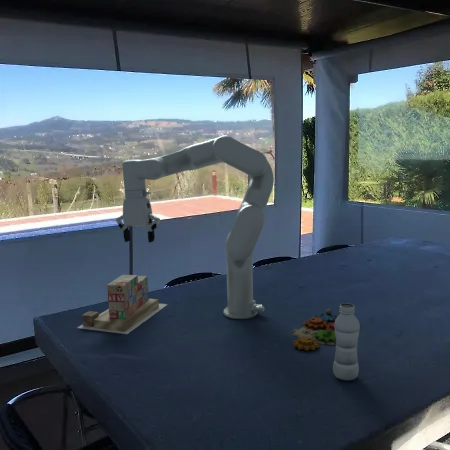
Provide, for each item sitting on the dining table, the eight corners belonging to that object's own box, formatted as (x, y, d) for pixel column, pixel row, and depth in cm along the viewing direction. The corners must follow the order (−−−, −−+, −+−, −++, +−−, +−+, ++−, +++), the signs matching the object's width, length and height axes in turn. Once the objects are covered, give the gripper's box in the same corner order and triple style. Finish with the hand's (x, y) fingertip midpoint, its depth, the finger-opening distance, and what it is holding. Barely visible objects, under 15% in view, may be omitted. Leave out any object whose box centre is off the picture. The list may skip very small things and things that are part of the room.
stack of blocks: (134, 298, 178) (132, 267, 176) (149, 299, 176) (147, 268, 174) (109, 318, 157) (106, 284, 155) (126, 319, 156) (123, 284, 154)
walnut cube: (99, 322, 161) (98, 312, 161) (92, 327, 158) (91, 316, 157) (89, 321, 163) (89, 311, 162) (82, 325, 159) (82, 315, 158)
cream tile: (167, 306, 179) (167, 304, 179) (127, 336, 151) (127, 334, 151) (123, 301, 186) (123, 300, 185) (77, 329, 158) (76, 327, 158)
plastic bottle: (329, 372, 123) (330, 302, 120) (353, 370, 124) (355, 300, 120) (337, 384, 117) (338, 310, 114) (362, 382, 117) (364, 309, 114)
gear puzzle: (321, 358, 132) (321, 345, 132) (273, 345, 142) (273, 333, 141) (360, 324, 157) (361, 313, 156) (317, 315, 166) (317, 304, 166)
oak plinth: (158, 306, 176) (158, 299, 176) (124, 331, 153) (123, 323, 153) (131, 304, 180) (131, 296, 180) (94, 327, 157) (93, 319, 156)
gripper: (162, 193, 163) (165, 239, 166) (119, 193, 169) (123, 239, 171) (152, 195, 156) (156, 244, 159) (108, 196, 162) (113, 243, 164)
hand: (139, 241), depth 165 cm, fingers open, 9 cm apart
